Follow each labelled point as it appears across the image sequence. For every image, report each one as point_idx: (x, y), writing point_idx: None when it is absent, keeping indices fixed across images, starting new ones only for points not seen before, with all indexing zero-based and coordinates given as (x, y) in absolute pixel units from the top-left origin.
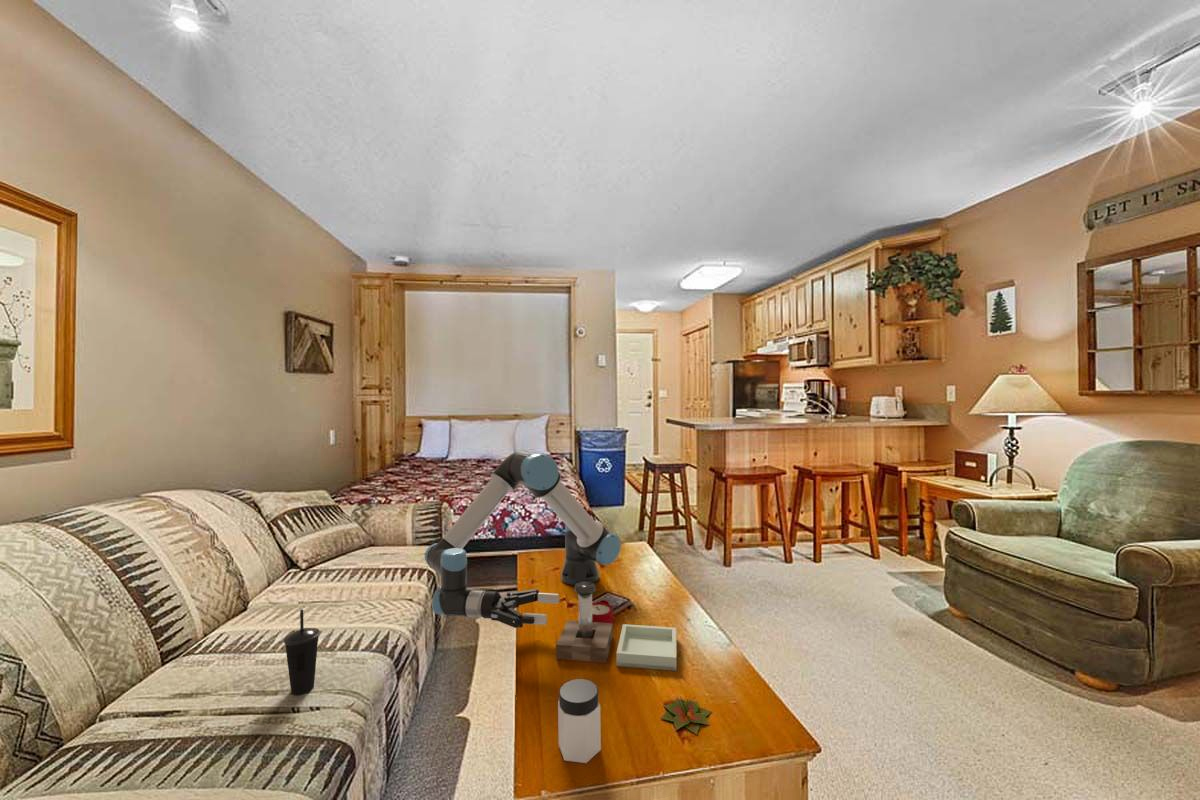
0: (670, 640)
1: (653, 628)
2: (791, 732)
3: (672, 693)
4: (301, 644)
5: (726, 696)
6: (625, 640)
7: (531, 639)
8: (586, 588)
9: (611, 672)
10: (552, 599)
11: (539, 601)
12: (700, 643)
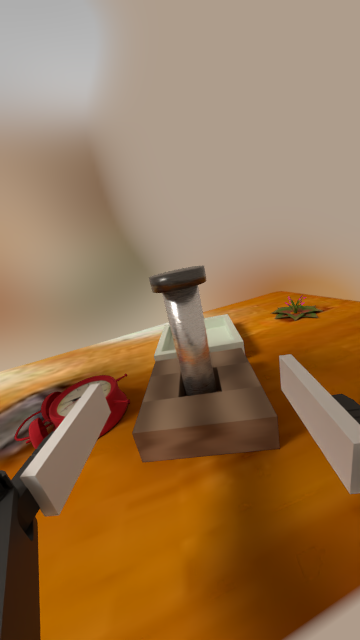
0: None
1: (166, 335)
2: (271, 293)
3: (269, 322)
4: None
5: (251, 308)
6: None
7: (186, 634)
8: (194, 267)
9: (265, 359)
10: (95, 418)
11: (62, 498)
12: None
